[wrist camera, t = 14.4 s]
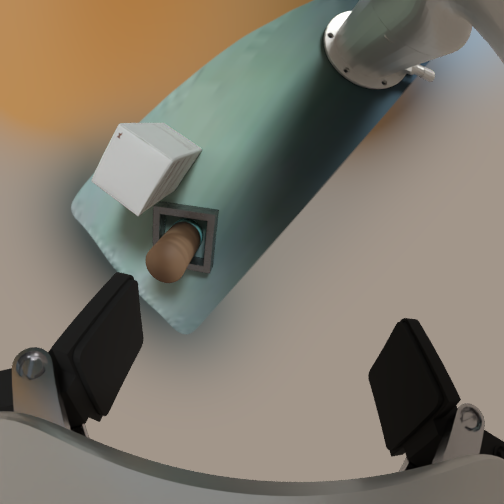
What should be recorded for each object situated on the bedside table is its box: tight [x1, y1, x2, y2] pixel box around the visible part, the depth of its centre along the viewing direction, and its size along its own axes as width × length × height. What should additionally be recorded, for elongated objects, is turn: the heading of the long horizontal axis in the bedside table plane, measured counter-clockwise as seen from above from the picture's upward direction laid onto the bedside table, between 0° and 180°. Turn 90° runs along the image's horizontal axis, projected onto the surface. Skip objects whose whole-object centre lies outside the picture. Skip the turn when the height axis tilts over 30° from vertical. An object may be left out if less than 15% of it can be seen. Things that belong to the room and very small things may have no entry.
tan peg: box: [146, 218, 203, 283], centre depth 36 cm, size 5×5×10 cm
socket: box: [153, 202, 219, 273], centre depth 40 cm, size 9×9×2 cm
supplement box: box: [92, 123, 202, 216], centre depth 30 cm, size 7×7×13 cm
